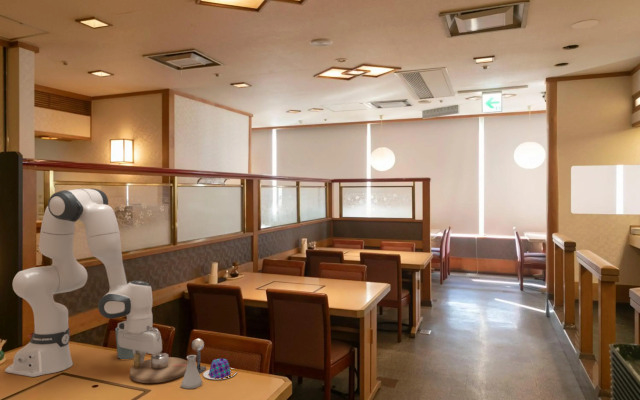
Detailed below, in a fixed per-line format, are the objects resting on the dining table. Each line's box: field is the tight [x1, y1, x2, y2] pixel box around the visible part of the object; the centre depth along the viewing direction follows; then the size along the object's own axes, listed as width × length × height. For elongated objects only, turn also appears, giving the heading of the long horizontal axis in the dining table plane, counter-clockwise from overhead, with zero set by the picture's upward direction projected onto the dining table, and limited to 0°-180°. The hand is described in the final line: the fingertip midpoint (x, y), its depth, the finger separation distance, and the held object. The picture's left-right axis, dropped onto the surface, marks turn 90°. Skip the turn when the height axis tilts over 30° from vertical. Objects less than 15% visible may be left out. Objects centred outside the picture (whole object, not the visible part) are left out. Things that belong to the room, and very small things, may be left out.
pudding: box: [202, 358, 237, 380], centre depth 164 cm, size 12×12×5 cm
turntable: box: [129, 353, 188, 384], centre depth 164 cm, size 20×20×7 cm
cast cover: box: [150, 352, 169, 370], centre depth 164 cm, size 6×6×4 cm
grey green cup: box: [114, 326, 134, 360], centre depth 183 cm, size 10×10×12 cm
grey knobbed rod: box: [191, 337, 207, 374], centre depth 167 cm, size 4×4×12 cm
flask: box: [180, 354, 203, 390], centre depth 154 cm, size 7×7×10 cm
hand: (139, 362), depth 165 cm, fingers closed
